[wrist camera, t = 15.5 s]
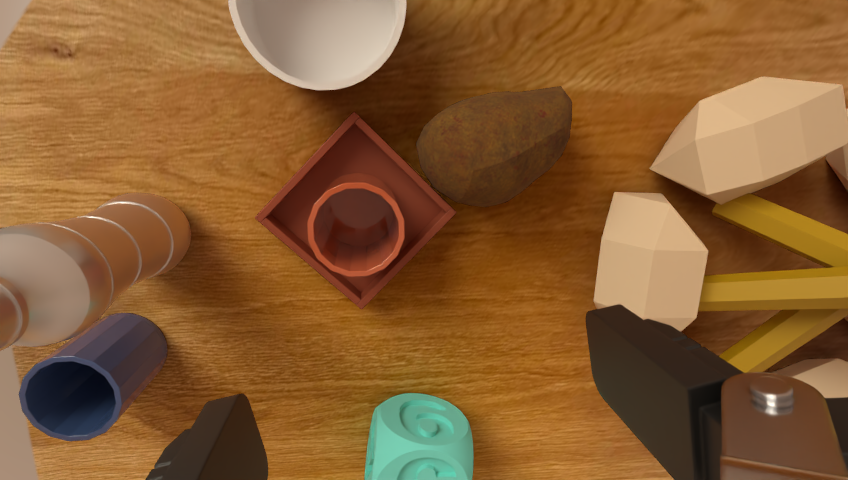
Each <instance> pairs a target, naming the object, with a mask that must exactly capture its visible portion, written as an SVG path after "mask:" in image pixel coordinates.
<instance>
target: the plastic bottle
mask: <svg viewBox="0 0 848 480" xmlns="http://www.w3.org/2000/svg"><path fill="white" fill-rule="evenodd" d="M190 242H191V229H190V224H189V222H188V220H187V217H186V216H185V215H184V213H183V212H182V210H181V209H180V208H179V207H178V206H177V205H175V204H174V203H172V202H171V201H170V200H168V199H166V198H163V197H161V196H158V195H154V194H146V193H127V194H123V195H119V196H117V197H115V198H113V199H111V200H109V201H107V202H105V203H104V204H102V205H101V206H100V207H98V208H97V209H96V210H94V211H92V212H90V213H88V214H86V215H84V216H81V217H77V218H72V219H67V220H63V221H55V222H42V223H28V224H20V225H15V226H9V227H6V228H2V229H0V351H1V350H3V349H5V348H7V347H9V346H11V345H16V346H28V347H36V346H45V345H49V344H53V343H58V342H61V341H65V340H68V339H71V338H73V337H75V336H77V335H79V334H81V333H82V332H84V331H85V330H86V329H87V328H89V327H90V326H91V325H92V324H93V323H94V322H96V321H97V320H98V319H99V318H100V316H101V315H102V314H103V313H104V312H105V311H106V310H107V309H108V307H109V306H110V305H111V304H112V303H113V302H114V301H115V299H116V298H117V297H118V296H120V295H121V294H122V293H123V292H124V291H126V290H127V289H128V288H129V287H131V286H132V285H134V284H136V283H138V282H140V281H142V280H144V279H149V278H152V277H156V276H158V275H161V274H163V273H165V272H167V271H169V270H171V269H173V268H174V267H175V266H176V265H178V263H179V262H180V261H181V260H182V259H183V257H184V255H185V254H186V252H187V250H188V248H189V246H190Z"/></svg>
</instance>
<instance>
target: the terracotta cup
mask: <svg viewBox="0 0 848 480" xmlns="http://www.w3.org/2000/svg"><path fill="white" fill-rule="evenodd" d="M307 227H308V241H309V244H310V246H311V248H312V250H313V252H314V254H315V256H316V258H317V259H318V260H319V261H321V262H322V263H323V264H324V265H325V266H326V267H328V268H329V269H330V270H331V271H334V272H337V273H339V274H342V275H345V276H348V277H357V276H369V275H371V274H374V273H376V272H378V271H381V270H383V269H385V268H386V267H387V266H388V265H389V264H390V263H391V262H392V261H393V260H394V259H395V258H396V257H397V255H398V254H399V251H400V249H401V246H402V244H403V241H404V238H405V231H404V218H403V215H402V213H401V211H400V208H399V206H398V203H397V201H396V199H395V197H394V194H393V192H392V190H391V189H390V188H389V187H388V186H387V184H386V183H384V182H383V181H382V180H381V179H379V178H377V177H375V176H373V175H370V174H367V173H359V172H356V173H348V174H345V175H343V176H341V177H339V178H337V179H335V180H334V181H333V182H332V183H331V184H330V185H329V186H328V187H327V188H326V189H325V190H324V191H323V193H322V194H321V195H320V197H319V198H318V200H317V201H316V202H315V204H314V205H313V208H312V211H311V213H310V216H309V219H308V223H307Z"/></svg>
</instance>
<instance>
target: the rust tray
mask: <svg viewBox="0 0 848 480" xmlns="http://www.w3.org/2000/svg"><path fill="white" fill-rule="evenodd" d="M356 172H359V173H367V174H370V175H373V176H375V177H377V178H379V179H381V180H382V181H383V182H384V183H386V184H387V186H388V187H389V188H390V189H391V190H392V192H393V194H394V197H395V199H396V201H397V203H398V206H399V208H400V211H401V213H402V215H403V218H404V231H405V238H404V241H403V244H402V246H401V249H400V251H399V254H398V255H397V257H396V258H395V259H394V260H393V261H392V262H391V263H390V264H389V265H388V266H387V267H386V268H385V269H383V270H381V271H378V272H376V273H374V274H371V275H369V276H357V277H348V276H345V275H342V274H339V273H337V272H334V271H331V270H330V269H329V268H328V267H326V266H325V265H324V264H323V263H322V262H321V261H319V260H318V259H317V258H316V256H315V254H314V252H313V250H312V248H311V246H310V244H309V241H308V227H307V223H308V219H309V216H310V213H311V211H312V208H313V205H314V204H315V202H316V201H317V200H318V198H319V197H320V195H321V194H322V193H323V191H324V190H325V189H326V188H327V187H328V186H329V185H330V184H331V183H332V182H333V181H334V180H335V179H337V178H339V177H341V176H343V175H345V174H348V173H356ZM456 213H457V212H456V211H455V210H454V209H453V208H452V207H451V206H450V205H449V204H448V203H447V202H446V201H445V200H444V199H443V198H442V197H441V196H440V195H439V194H438V193H437V192H436V191H435V190H434V189H433V188H432V187H431V186H429V185H428V184H427V183H426V182H425V181H424V180H423V179H422V178H421V177H420V176H419V175H418V174H417V173H416V172H415V171H414V170H413V169H412V168H411V167H410V166H409V165H408V164H407V163H406V162H405V161H404V160H403V159H402V158H401V157H400V156H399V155H398V154H397V153H396V152H395V151H394V150H393V149H392V148H391V147H390V146H389V145H388V144H387V143H386V142H385V141H384V140H383V139H382V138H381V137H380V136H379V135H378V134H377V133H376V132H375V131H374V130H373V129H372V128H370V127H369V126H368V125H367V124H366V123H365V122H364V121H363V120H362V119H361V118H360V117H359V116H358V115H357V114H356V113H355V112H353V113H352V114H351V115H350V116H349V117H348V118H347V119H346V120H345V121H344V122H343V124H342V125H341V126H340V127H339V128H338V129H337V130H336V131H335V132H334V133H333V134H332V135H331V136H330V137H329V138H328V140H327V141H326V142H325V143H324V144H323V145H322V146H321V147H320V148H319V149H318V150H317V151H316V152H315V153H314V155H313V156H312V157H311V158H310V159H309V160H308V161H307V162H306V163H305V164H304V165H303V166H302V167H301V168H300V170H299V171H298V172H297V173H296V174H295V175H294V176H293V177H292V178H291V179H290V180H289V181H288V182H287V183H286V185H285V186H284V187H283V188H282V189H281V190H280V191H279V192H278V193H277V194H276V195H275V196H274V197H273V198H272V200H271V201H270V202H269V203H268V204H267V205H266V206H265V207H264V208H263V209H262V210H261V211H260V212H259V213H258V214H257V216H256V217H255V219H257V220H258V221H259V222H260V223H261V224H262V225H264V226H265V227H266V228H267V229H268V230H269V231H271V232H272V233H273V234H274V235H275V236H276V237H278V238H279V239H280V240H281V241H282V242H283V243H285V244H286V245H287V246H288V247H289V248H290V249H292V250H293V251H294V252H295V253H296V254H297V255H299V256H300V257H301V258H302V259H303V260H304V261H306V262H307V263H308V264H309V265H310V266H311V267H313V268H314V269H315V270H316V271H317V272H318V273H320V274H321V275H322V276H323V277H324V278H325V279H327V280H328V281H329V282H330V283H331V284H332V285H334V286H335V287H336V288H337V289H338V290H339V291H341V292H342V293H343V294H344V295H345V296H346V297H348V298H349V299H350V300H351V301H352V302H353V303H355V304H357V306H358V307H359V308H360V309H363V308H364V307H365V306H366V305H367V304H368V303H369V302H370V300H371V299H372V298H373V297H374V296H375V295H376V294H377V293H378V292H379V291H380V290H381V289H382V288H383V287H384V286H385V285H386V284H387V283H388V282H389V281H390V280H391V279H392V278H393V277H394V276H395V275H396V274H397V273H398V272H399V271H400V270H401V269H402V268H403V267H404V266H405V265H406V264H407V263H408V262H409V261H410V260H411V259H412V258H413V257H414V256H415V255H416V254H417V253H418V252H419V251H420V249H421V248H422V247H423V246H424V245H425V244H426V243H427V242H428V241H429V240H430V239H431V238H432V237H433V236H434V235H435V234H436V233H437V232H438V231H439V230H440V229H441V228H442V227H443V226H444V225H445V224H446V223H447V222H448V221H449V220H450V219H451V218H452V217H453V216H454V215H455V214H456Z"/></svg>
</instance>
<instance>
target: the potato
mask: <svg viewBox="0 0 848 480" xmlns="http://www.w3.org/2000/svg"><path fill="white" fill-rule="evenodd" d="M571 121H572V101H571V99H570V98H569V96H568V95H567V94H566V93H565V91H564V90H563V89H562V87H561V86H559V87H552V88H545V89H538V90H531V91H524V92H509V91H507V92H493V93H489V94H485V95H481V96H476V97H472V98H468V99H465V100H462V101H459V102H457V103H455V104H453V105H451V106H449V107H447V108H446V109H444V110H443V111H441V112H440V113H438V114H437V115H436V116H435V117H434V118H433V119H431V120H430V121H429V122H428V123H427V124H426V125H425V126H424V128H423V130H422V132H421V134H420V136H419V138H418V141H417V143H416V147H417V152H418V157H419V161H420V166H421V169H422V170H423V172H424V173H425V175H426V176H427V178H428V179H429V181H430V182H431V184H432V186H433V187H434V188H435V189H436V190H438V191H439V192H441V193H443V194H444V195H446V196H447V197H449V198H450V199H452V200H453V201H455V202H458V203H462V204H467V205H473V206H481V207H489V206H493V205H497V204H501V203H504V202H507V201H509V200H510V199H512V198H513V197H515V196H516V195H518V194H519V193H521V192H522V191H523V190H524V189H525V188H527V187H528V186H529V185H530V184H531V183H532V182H534V181H535V180H536V179H537V178H539V177H540V176H541V175H542V174H544V173H545V172H546V171H548V170H549V169H550V168H551V167H552V166H553V165H554V163H555V162H556V161H557V160H558V159H559V158H560V156H561V155H562V153H563V151H564V149H565V146H566V144H567V142H568V139H569V137H570V129H571Z"/></svg>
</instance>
